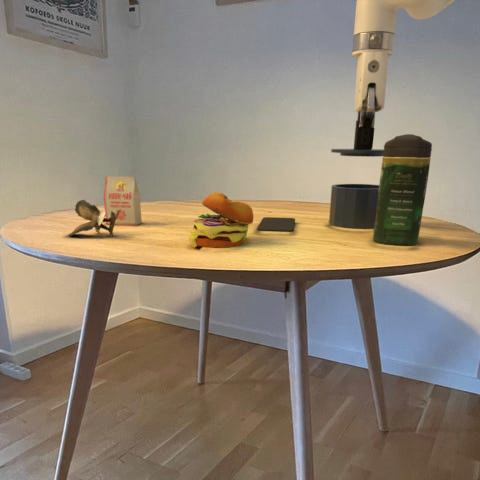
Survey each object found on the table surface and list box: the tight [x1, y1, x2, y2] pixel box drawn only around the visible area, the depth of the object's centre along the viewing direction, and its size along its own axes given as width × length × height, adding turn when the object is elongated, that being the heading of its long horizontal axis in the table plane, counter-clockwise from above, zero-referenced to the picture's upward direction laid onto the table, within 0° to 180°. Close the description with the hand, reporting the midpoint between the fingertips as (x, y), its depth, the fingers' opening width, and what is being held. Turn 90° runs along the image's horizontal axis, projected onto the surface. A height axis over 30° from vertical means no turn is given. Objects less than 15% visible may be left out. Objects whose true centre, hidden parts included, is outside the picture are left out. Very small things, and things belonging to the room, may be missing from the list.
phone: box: [256, 216, 296, 233], centre depth 100 cm, size 7×1×15 cm
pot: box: [328, 183, 379, 230], centre depth 100 cm, size 12×12×8 cm
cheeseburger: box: [188, 191, 254, 248], centre depth 82 cm, size 10×11×10 cm
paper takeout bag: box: [103, 175, 143, 226], centre depth 102 cm, size 4×7×10 cm, turn 80°
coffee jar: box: [372, 133, 433, 247], centre depth 82 cm, size 10×8×19 cm
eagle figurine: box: [67, 199, 120, 237], centre depth 90 cm, size 8×7×9 cm
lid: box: [330, 119, 384, 158], centre depth 95 cm, size 13×13×7 cm
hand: (362, 148), depth 96 cm, fingers closed on lid, 3 cm apart
